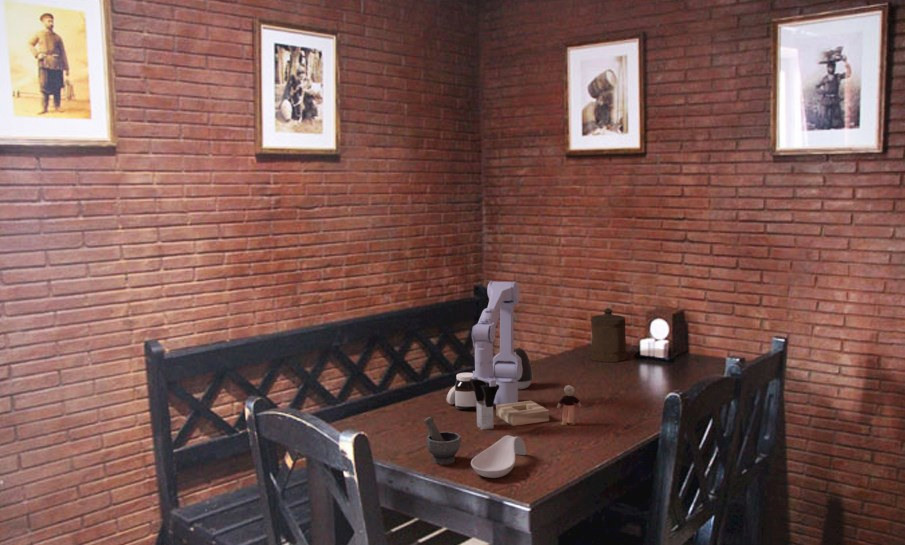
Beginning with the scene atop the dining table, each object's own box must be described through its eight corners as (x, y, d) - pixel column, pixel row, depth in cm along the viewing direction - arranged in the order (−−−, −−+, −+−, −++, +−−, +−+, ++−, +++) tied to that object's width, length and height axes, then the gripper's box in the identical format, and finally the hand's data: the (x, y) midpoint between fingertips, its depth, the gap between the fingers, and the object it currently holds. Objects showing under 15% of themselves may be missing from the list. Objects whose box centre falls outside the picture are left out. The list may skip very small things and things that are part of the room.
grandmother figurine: (560, 426, 256) (560, 387, 254) (556, 423, 259) (555, 384, 258) (583, 424, 258) (583, 385, 256) (578, 420, 261) (577, 382, 260)
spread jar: (475, 412, 274) (474, 378, 273) (442, 411, 276) (442, 377, 275) (481, 402, 286) (480, 370, 284) (450, 401, 288) (449, 369, 286)
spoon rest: (504, 485, 208) (504, 459, 207) (463, 479, 213) (463, 453, 212) (537, 457, 229) (537, 432, 228) (499, 451, 234) (499, 427, 233)
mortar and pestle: (467, 458, 228) (466, 417, 227) (449, 468, 220) (448, 426, 219) (434, 452, 234) (433, 411, 233) (416, 461, 226) (415, 420, 225)
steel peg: (476, 426, 258) (476, 402, 257) (488, 424, 259) (488, 400, 258) (481, 429, 254) (481, 405, 253) (493, 428, 256) (493, 403, 255)
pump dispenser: (532, 384, 310) (532, 345, 308) (532, 391, 299) (532, 351, 298) (506, 384, 311) (505, 345, 309) (505, 391, 300) (504, 351, 299)
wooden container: (606, 353, 361) (605, 304, 358) (632, 358, 349) (632, 308, 347) (583, 358, 351) (583, 308, 349) (610, 364, 340) (610, 312, 338)
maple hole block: (496, 415, 270) (496, 405, 269) (531, 410, 274) (531, 400, 274) (512, 425, 257) (512, 415, 257) (549, 420, 262) (549, 410, 262)
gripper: (463, 358, 260) (464, 399, 261) (481, 367, 246) (481, 411, 248) (483, 356, 262) (484, 397, 264) (502, 365, 249) (502, 408, 250)
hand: (484, 403), depth 256 cm, fingers open, 7 cm apart
